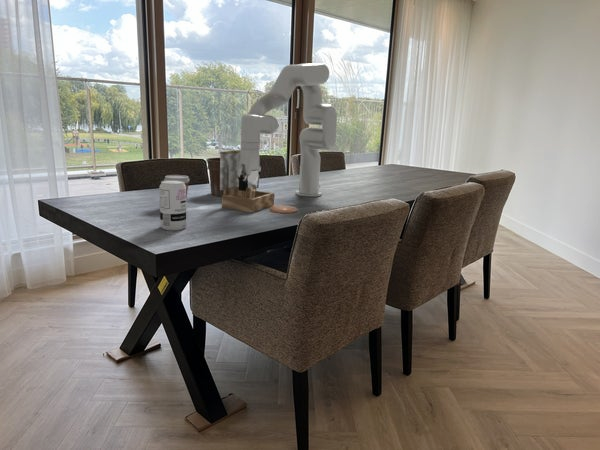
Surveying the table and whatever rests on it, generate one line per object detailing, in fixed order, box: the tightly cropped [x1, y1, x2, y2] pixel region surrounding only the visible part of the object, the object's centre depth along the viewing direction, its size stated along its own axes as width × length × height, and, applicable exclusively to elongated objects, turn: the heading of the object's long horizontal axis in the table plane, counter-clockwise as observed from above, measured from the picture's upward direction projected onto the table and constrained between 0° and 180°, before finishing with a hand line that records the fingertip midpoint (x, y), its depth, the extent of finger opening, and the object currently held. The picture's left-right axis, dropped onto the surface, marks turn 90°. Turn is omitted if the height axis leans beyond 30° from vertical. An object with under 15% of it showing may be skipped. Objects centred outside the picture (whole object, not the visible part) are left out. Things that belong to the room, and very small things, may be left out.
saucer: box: [269, 204, 298, 214], centre depth 180 cm, size 11×11×1 cm
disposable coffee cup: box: [163, 174, 190, 200], centre depth 174 cm, size 10×10×12 cm
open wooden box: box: [219, 149, 275, 213], centre depth 182 cm, size 18×15×22 cm
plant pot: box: [206, 157, 238, 197], centre depth 204 cm, size 16×16×16 cm
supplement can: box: [159, 180, 187, 231], centre depth 144 cm, size 8×8×15 cm
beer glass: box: [242, 170, 259, 199], centre depth 182 cm, size 7×7×15 cm
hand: (248, 189), depth 182 cm, fingers open, 9 cm apart
